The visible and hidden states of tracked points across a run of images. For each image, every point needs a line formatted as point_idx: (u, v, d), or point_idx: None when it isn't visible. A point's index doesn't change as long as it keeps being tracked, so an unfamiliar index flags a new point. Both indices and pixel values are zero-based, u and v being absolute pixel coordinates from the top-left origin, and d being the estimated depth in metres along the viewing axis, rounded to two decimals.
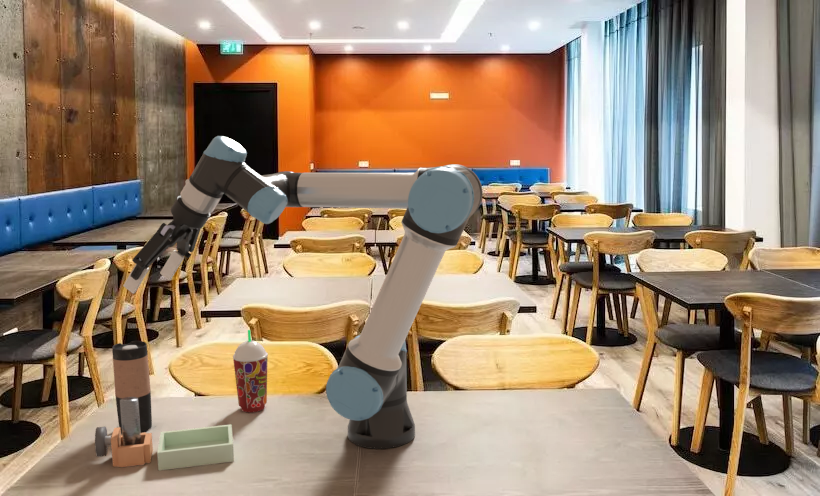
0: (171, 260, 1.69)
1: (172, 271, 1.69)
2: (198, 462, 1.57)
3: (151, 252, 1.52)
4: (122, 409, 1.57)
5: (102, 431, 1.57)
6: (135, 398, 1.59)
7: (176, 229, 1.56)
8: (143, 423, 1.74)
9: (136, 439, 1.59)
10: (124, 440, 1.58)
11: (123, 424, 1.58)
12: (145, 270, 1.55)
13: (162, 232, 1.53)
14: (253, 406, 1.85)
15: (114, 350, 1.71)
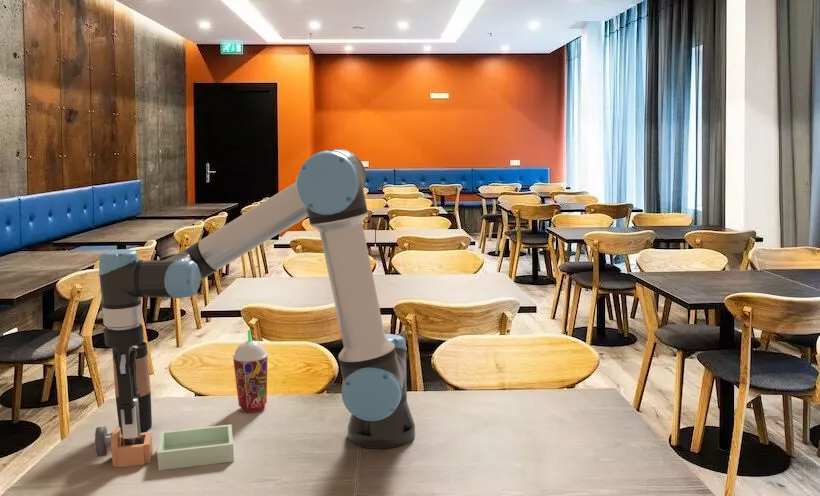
0: None
1: None
2: (198, 462, 1.57)
3: (129, 392, 1.53)
4: None
5: (102, 431, 1.57)
6: (135, 398, 1.59)
7: (128, 357, 1.53)
8: (143, 423, 1.74)
9: (136, 439, 1.59)
10: (124, 440, 1.58)
11: None
12: (133, 410, 1.57)
13: (122, 372, 1.51)
14: (253, 406, 1.85)
15: (114, 350, 1.71)
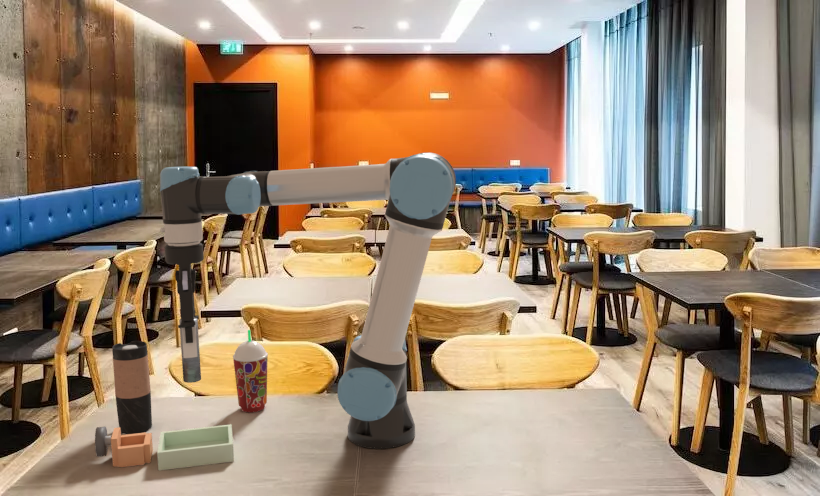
0: None
1: None
2: (198, 462, 1.57)
3: (191, 309, 1.51)
4: None
5: (102, 431, 1.57)
6: (194, 318, 1.58)
7: (189, 274, 1.52)
8: (143, 423, 1.74)
9: (196, 359, 1.57)
10: (184, 360, 1.57)
11: None
12: (194, 328, 1.55)
13: (184, 288, 1.50)
14: (253, 406, 1.85)
15: (114, 350, 1.71)
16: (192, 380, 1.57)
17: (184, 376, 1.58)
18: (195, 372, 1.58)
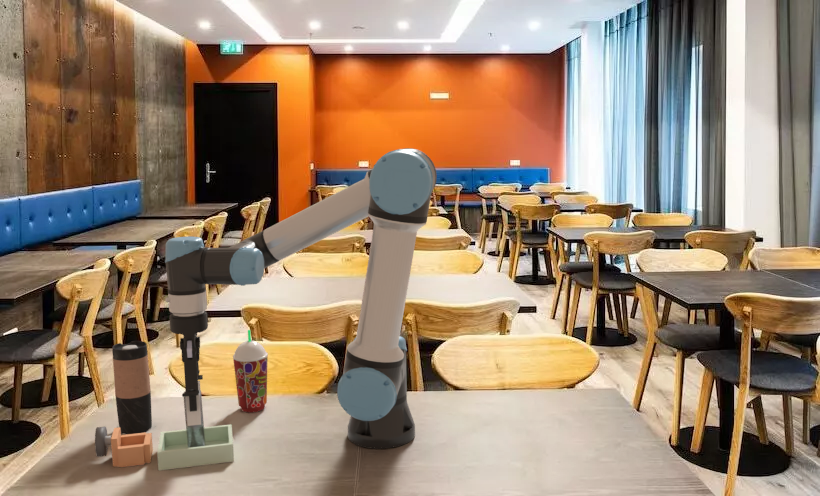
0: None
1: None
2: (198, 462, 1.57)
3: (195, 377, 1.52)
4: None
5: (102, 431, 1.57)
6: None
7: (194, 343, 1.54)
8: (143, 423, 1.74)
9: (200, 431, 1.60)
10: (188, 432, 1.60)
11: None
12: (198, 396, 1.56)
13: (189, 356, 1.52)
14: (253, 406, 1.85)
15: (114, 350, 1.71)
16: None
17: None
18: (199, 444, 1.60)
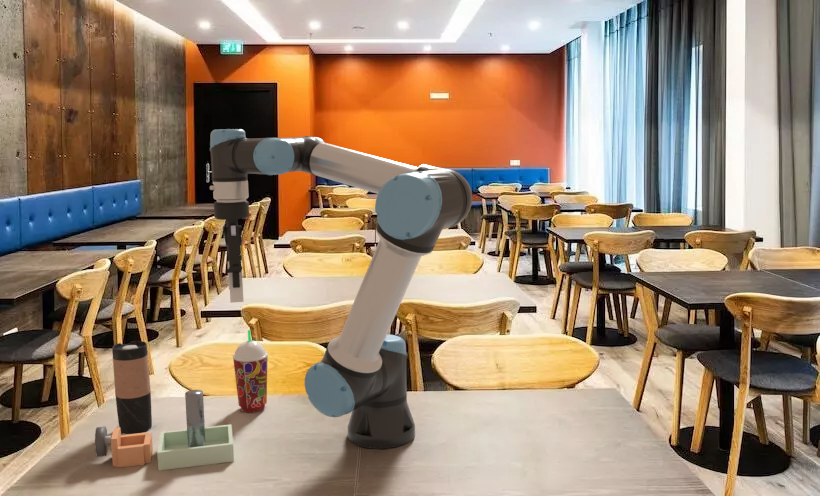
0: None
1: None
2: (198, 462, 1.57)
3: (238, 253, 1.60)
4: (188, 402, 1.59)
5: (102, 431, 1.57)
6: (200, 391, 1.61)
7: None
8: (143, 423, 1.74)
9: (201, 431, 1.60)
10: (189, 433, 1.60)
11: (188, 417, 1.59)
12: (240, 274, 1.62)
13: (233, 233, 1.61)
14: (253, 406, 1.85)
15: (114, 350, 1.71)
16: None
17: None
18: (200, 444, 1.60)
